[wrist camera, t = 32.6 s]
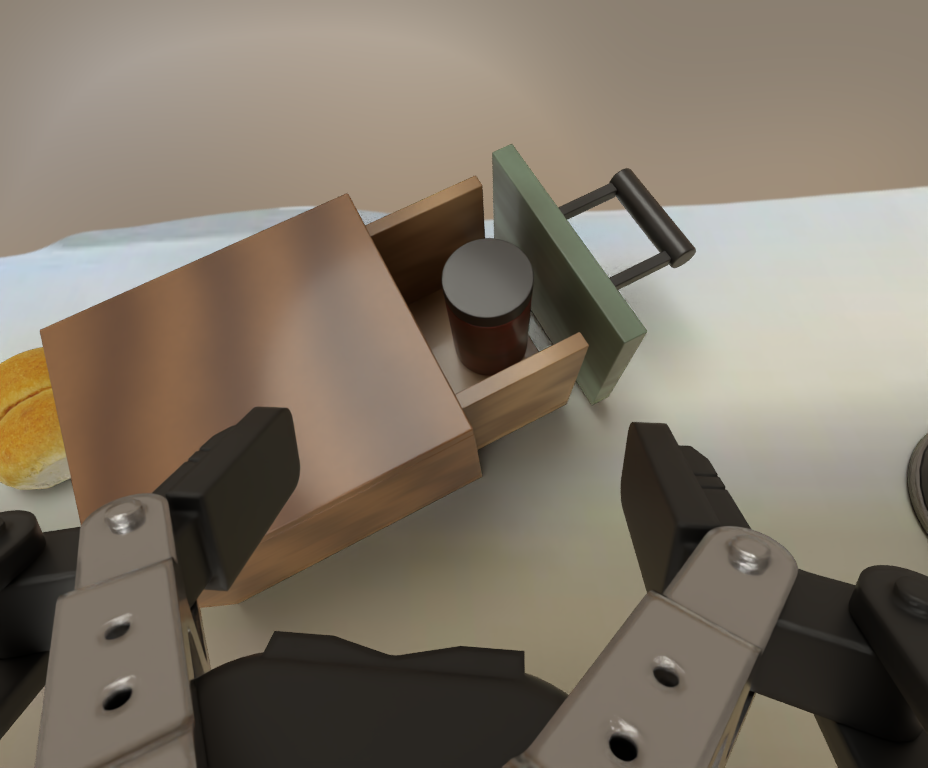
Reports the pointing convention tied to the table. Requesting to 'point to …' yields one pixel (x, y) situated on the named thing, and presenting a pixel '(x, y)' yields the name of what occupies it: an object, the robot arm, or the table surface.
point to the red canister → (488, 303)
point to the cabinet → (267, 386)
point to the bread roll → (29, 425)
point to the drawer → (554, 289)
